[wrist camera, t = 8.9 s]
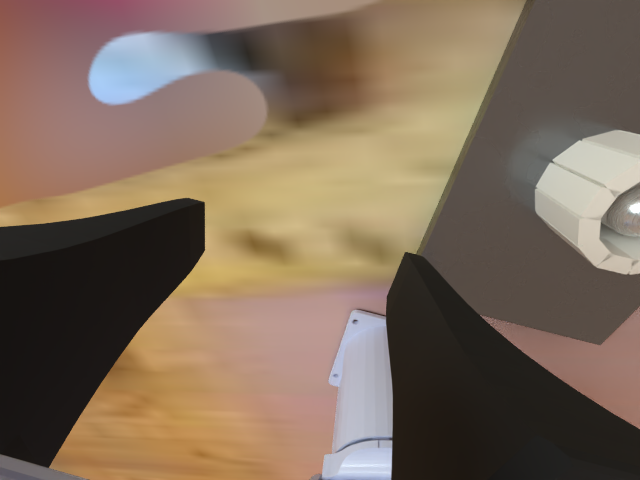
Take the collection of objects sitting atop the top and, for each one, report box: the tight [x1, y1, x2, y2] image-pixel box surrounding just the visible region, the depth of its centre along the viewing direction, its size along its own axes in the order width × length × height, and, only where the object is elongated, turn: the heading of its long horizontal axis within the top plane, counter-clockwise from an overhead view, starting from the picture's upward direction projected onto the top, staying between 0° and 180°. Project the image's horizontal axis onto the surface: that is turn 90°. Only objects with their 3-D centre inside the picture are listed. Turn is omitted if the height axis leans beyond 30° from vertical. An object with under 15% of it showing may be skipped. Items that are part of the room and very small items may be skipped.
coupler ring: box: [535, 130, 640, 275], centre depth 14 cm, size 6×6×4 cm
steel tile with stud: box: [416, 0, 640, 345], centre depth 14 cm, size 20×14×5 cm
